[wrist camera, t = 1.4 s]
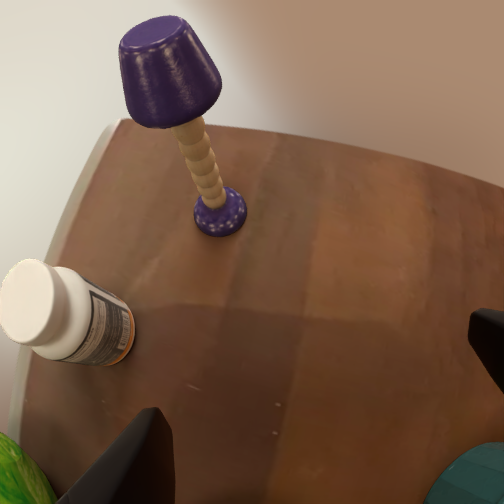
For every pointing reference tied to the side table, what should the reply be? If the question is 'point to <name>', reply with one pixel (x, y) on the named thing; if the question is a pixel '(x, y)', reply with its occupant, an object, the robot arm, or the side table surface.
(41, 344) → the pill bottle
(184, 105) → the toy lamp
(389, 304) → the side table surface
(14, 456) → the lettuce
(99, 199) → the side table surface
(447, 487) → the pot
